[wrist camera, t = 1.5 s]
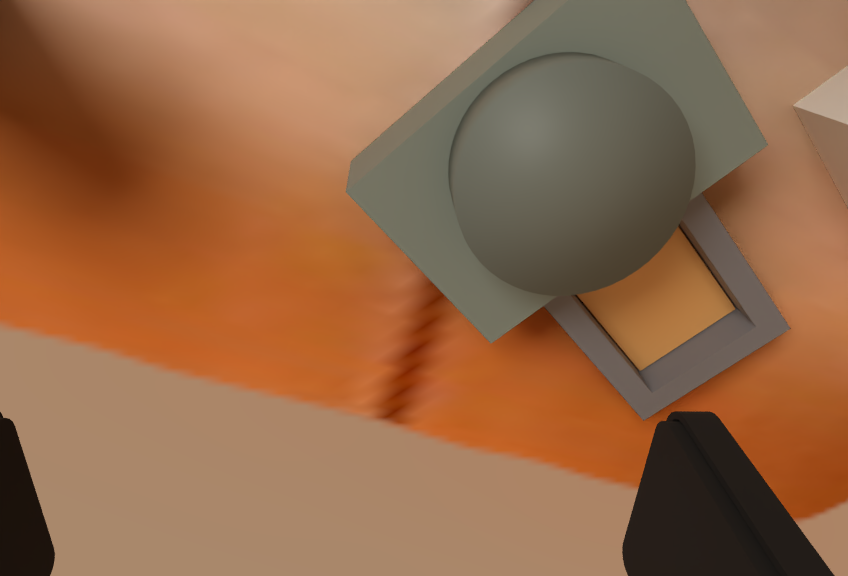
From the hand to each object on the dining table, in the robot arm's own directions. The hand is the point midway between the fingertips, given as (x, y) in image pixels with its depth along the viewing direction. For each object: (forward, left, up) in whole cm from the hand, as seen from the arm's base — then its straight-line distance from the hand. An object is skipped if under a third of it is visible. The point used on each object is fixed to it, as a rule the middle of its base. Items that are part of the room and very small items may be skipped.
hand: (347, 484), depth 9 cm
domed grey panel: (-6, +13, -25) cm, 29 cm away
